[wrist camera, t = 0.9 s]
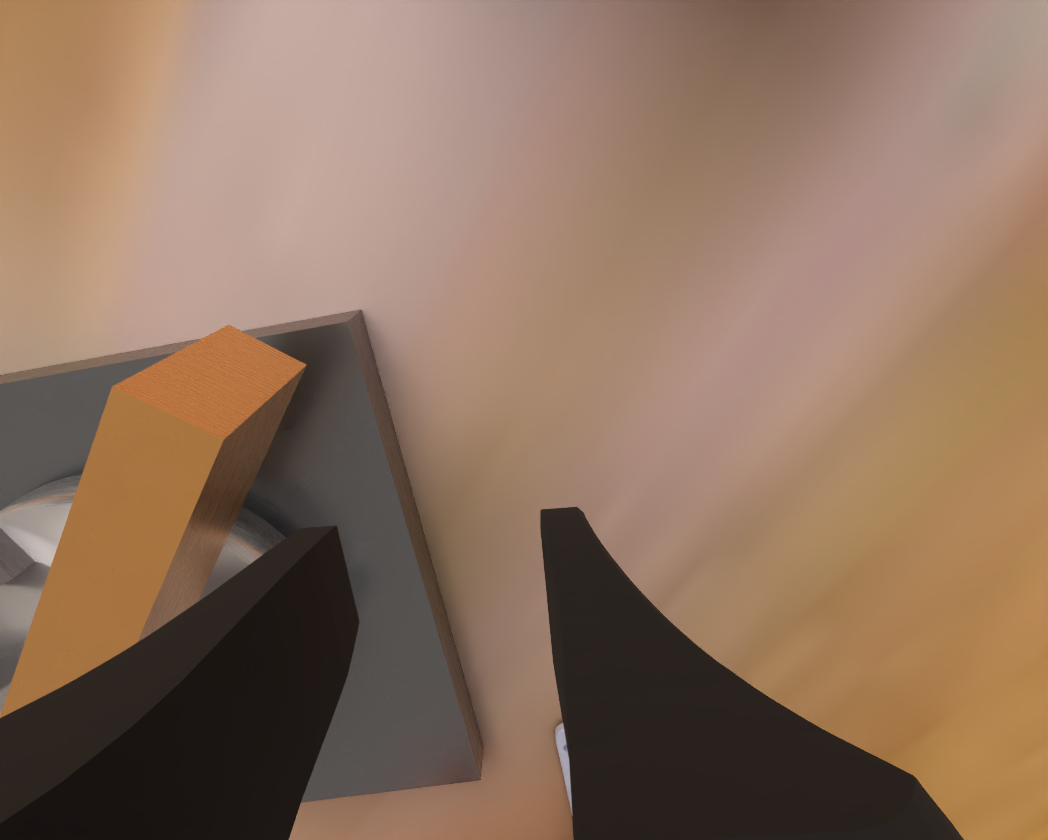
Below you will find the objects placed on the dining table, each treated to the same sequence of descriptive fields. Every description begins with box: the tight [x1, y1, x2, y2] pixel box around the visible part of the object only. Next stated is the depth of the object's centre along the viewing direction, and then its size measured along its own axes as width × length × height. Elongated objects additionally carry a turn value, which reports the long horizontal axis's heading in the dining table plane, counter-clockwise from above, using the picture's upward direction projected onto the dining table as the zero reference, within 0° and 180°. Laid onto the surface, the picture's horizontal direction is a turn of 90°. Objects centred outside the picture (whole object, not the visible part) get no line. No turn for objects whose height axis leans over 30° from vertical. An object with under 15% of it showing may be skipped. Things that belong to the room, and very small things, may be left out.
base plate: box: [0, 310, 483, 802], centre depth 22 cm, size 18×18×2 cm
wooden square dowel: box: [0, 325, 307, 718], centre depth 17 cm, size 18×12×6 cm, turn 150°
